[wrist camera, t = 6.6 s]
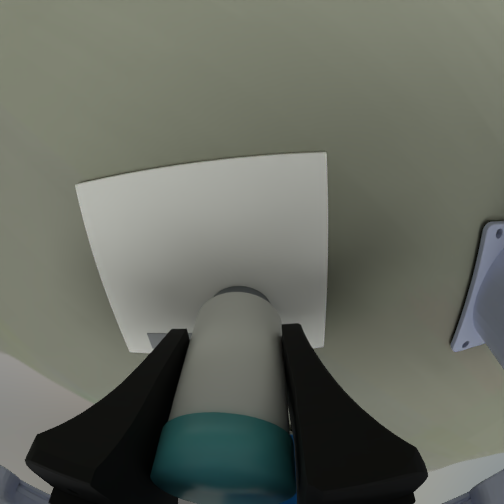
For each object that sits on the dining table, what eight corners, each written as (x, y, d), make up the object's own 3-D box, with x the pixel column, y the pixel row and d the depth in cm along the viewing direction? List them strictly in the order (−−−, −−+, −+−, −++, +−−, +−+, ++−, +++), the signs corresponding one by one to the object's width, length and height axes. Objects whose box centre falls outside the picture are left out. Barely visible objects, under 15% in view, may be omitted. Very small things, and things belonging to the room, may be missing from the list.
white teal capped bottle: (281, 273, 12) (298, 465, 5) (284, 342, 14) (294, 507, 6) (190, 278, 12) (127, 455, 5) (206, 345, 14) (174, 502, 7)
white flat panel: (324, 151, 10) (326, 152, 10) (322, 342, 14) (323, 347, 14) (78, 183, 11) (74, 185, 11) (131, 348, 15) (129, 352, 14)
